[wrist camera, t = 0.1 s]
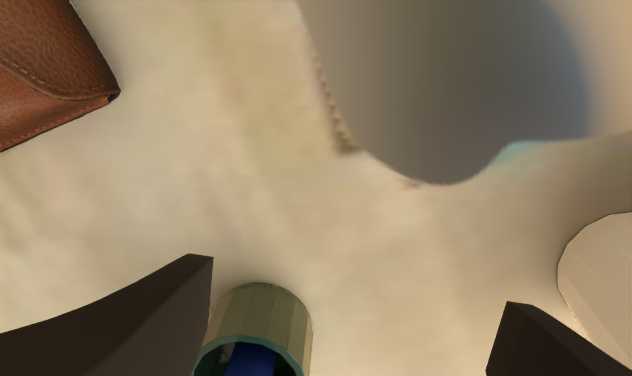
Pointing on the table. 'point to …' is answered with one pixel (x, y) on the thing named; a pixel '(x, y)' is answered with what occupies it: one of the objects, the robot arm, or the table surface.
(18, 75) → the sunglasses case
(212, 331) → the tumbler
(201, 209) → the table surface
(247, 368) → the blue marker
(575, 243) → the shot glass
